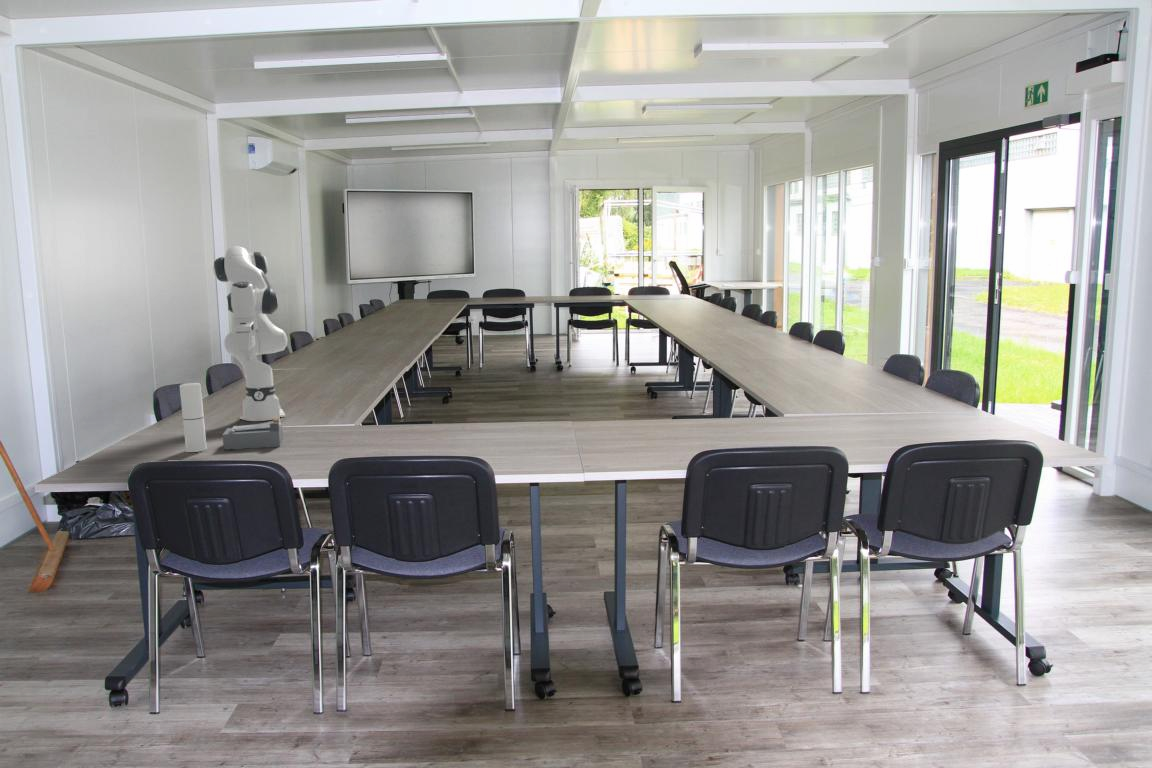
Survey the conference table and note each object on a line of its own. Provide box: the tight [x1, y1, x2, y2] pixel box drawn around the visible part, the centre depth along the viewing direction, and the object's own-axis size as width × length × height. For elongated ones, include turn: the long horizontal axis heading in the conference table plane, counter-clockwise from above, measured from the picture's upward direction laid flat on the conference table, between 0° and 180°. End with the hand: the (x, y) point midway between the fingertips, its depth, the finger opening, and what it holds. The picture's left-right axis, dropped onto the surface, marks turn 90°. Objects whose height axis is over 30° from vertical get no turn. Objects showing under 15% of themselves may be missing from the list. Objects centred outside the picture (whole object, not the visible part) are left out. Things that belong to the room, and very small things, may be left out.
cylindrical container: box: [179, 382, 208, 453], centre depth 320 cm, size 7×7×25 cm
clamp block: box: [221, 422, 284, 450], centre depth 329 cm, size 11×20×9 cm, turn 103°
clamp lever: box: [231, 418, 282, 431], centre depth 328 cm, size 4×17×3 cm, turn 103°
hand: (248, 360), depth 333 cm, fingers closed
